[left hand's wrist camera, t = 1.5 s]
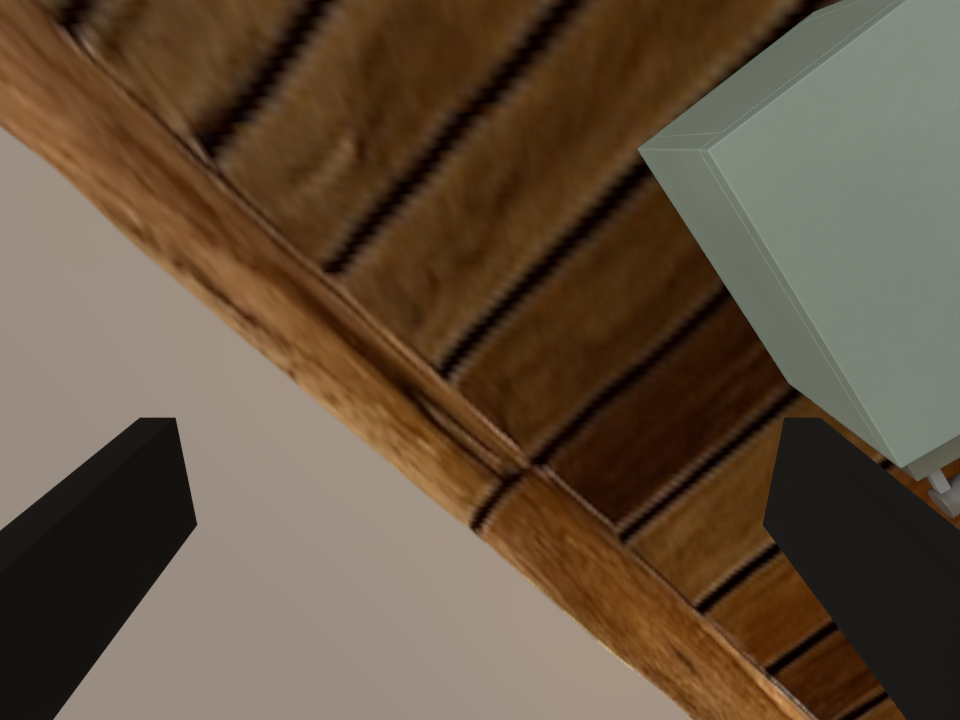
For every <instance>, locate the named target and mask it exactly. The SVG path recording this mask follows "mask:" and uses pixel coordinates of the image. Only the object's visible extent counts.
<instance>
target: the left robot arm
mask: <svg viewBox="0 0 960 720" xmlns="http://www.w3.org/2000/svg"><path fill="white" fill-rule="evenodd" d="M196 526H197V521H196V516H195V511H194V507H193V502H192V497H191V492H190V487H189V482H188V477H187V472H186V467H185V462H184V457H183V452H182V447H181V442H180V437H179V433H178V428H177V423H176V418H139V419H138V420H136V421H135V422H134V423H133V424H132V425H130V426H129V427H128V428H127V429H125V430H124V431H123V432H122V433H120V434H119V435H118V436H117V437H116V438H114V439H113V440H112V441H111V442H109V443H108V444H107V445H106V446H104V447H103V448H102V449H101V450H99V451H98V452H97V453H96V454H94V455H93V456H92V457H91V458H89V459H88V460H87V461H86V462H85V463H83V464H82V465H81V466H80V467H78V468H77V469H76V470H75V471H73V472H72V473H71V474H70V475H69V476H67V477H66V478H65V479H64V480H62V481H61V482H60V483H59V484H57V485H56V486H55V487H54V488H52V489H51V490H50V491H49V492H47V493H46V494H45V495H44V496H43V497H41V498H40V499H39V500H38V501H36V502H35V503H34V504H33V505H31V506H30V507H29V508H28V509H27V510H25V511H24V512H23V513H22V514H20V515H19V516H18V517H17V518H15V519H14V520H13V521H12V522H10V523H9V524H8V525H7V526H6V527H4V528H3V529H2V530H1V531H0V720H53V719H54V718H55V716H56V715H57V714H58V712H59V711H60V710H61V708H62V707H63V706H64V704H65V703H66V702H67V700H68V699H69V698H70V696H71V695H72V693H73V692H74V691H75V689H76V688H77V687H78V685H79V684H80V683H81V681H82V680H83V679H84V677H85V676H86V675H87V673H88V672H89V670H90V669H91V668H92V666H93V665H94V664H95V662H96V661H97V660H98V658H99V657H100V656H101V654H102V653H103V652H104V650H105V649H106V648H107V646H108V645H109V643H110V642H111V641H112V639H113V638H114V637H115V635H116V634H117V633H118V631H119V630H120V629H121V627H122V626H123V625H124V623H125V622H126V620H127V619H128V618H129V616H130V615H131V614H132V612H133V611H134V610H135V608H136V607H137V606H138V604H139V603H140V602H141V600H142V599H143V597H144V596H145V595H146V593H147V592H148V591H149V589H150V588H151V587H152V585H153V584H154V583H155V581H156V580H157V579H158V577H159V576H160V575H161V573H162V572H163V570H164V569H165V568H166V566H167V565H168V564H169V562H170V561H171V560H172V558H173V557H174V556H175V554H176V553H177V552H178V550H179V549H180V547H181V546H182V545H183V543H184V542H185V541H186V539H187V538H188V537H189V535H190V534H191V533H192V531H193V530H194V529H195V527H196ZM763 526H764V527H765V529H766V530H767V531H768V533H769V534H770V535H771V537H772V538H773V539H774V541H775V542H776V543H777V545H778V546H779V547H780V549H781V550H782V552H783V553H784V554H785V556H786V557H787V558H788V560H789V561H790V562H791V564H792V565H793V566H794V568H795V569H796V570H797V572H798V573H799V575H800V576H801V577H802V579H803V580H804V581H805V583H806V584H807V585H808V587H809V588H810V589H811V591H812V592H813V593H814V595H815V596H816V597H817V599H818V600H819V602H820V603H821V604H822V606H823V607H824V608H825V610H826V611H827V612H828V614H829V615H830V616H831V618H832V619H833V620H834V622H835V623H836V625H837V626H838V627H839V629H840V630H841V631H842V633H843V634H844V635H845V637H846V638H847V639H848V641H849V642H850V643H851V645H852V646H853V648H854V649H855V650H856V652H857V653H858V654H859V656H860V657H861V658H862V660H863V661H864V662H865V664H866V665H867V666H868V668H869V669H870V670H871V672H872V673H873V675H874V676H875V677H876V679H877V680H878V681H879V683H880V684H881V685H882V687H883V688H884V689H885V691H886V692H887V693H888V695H889V696H890V698H891V699H892V700H893V702H894V703H895V704H896V706H897V707H898V708H899V710H900V711H901V712H902V714H903V715H904V716H905V718H906V719H907V720H960V531H959V530H958V529H957V528H956V527H955V526H953V525H952V524H951V523H950V522H948V521H947V520H946V519H945V518H943V517H942V516H941V515H940V514H938V513H937V512H936V511H935V510H934V509H932V508H931V507H930V506H929V505H927V504H926V503H925V502H924V501H922V500H921V499H920V498H919V497H917V496H916V495H915V494H914V493H913V492H911V491H910V490H909V489H908V488H906V487H905V486H904V485H903V484H901V483H900V482H899V481H898V480H896V479H895V478H894V477H893V476H892V475H890V474H889V473H888V472H887V471H885V470H884V469H883V468H882V467H880V466H879V465H878V464H877V463H875V462H874V461H873V460H872V459H871V458H869V457H868V456H867V455H866V454H864V453H863V452H862V451H861V450H859V449H858V448H857V447H856V446H854V445H853V444H852V443H851V442H849V441H848V440H847V439H846V438H845V437H843V436H842V435H841V434H840V433H838V432H837V431H836V430H835V429H833V428H832V427H831V426H830V425H828V424H827V423H826V422H825V421H824V420H822V419H821V418H784V423H783V428H782V433H781V437H780V442H779V447H778V452H777V457H776V462H775V467H774V472H773V477H772V482H771V487H770V492H769V497H768V502H767V507H766V511H765V516H764V521H763Z"/></svg>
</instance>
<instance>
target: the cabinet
mask: <svg viewBox="0 0 960 720" xmlns="http://www.w3.org/2000/svg"><path fill="white" fill-rule="evenodd" d="M638 151H639V152H640V154H641V156H642V157H643V159H644V160H645V162H646V163H647V165H648V166H649V168H650V170H651V171H652V173H653V174H654V176H655V177H656V179H657V180H658V182H659V183H660V185H661V187H662V188H663V190H664V191H665V193H666V194H667V196H668V197H669V199H670V200H671V202H672V204H673V205H674V207H675V208H676V210H677V211H678V213H679V214H680V216H681V217H682V219H683V221H684V222H685V224H686V225H687V227H688V228H689V230H690V231H691V233H692V234H693V236H694V238H695V239H696V241H697V242H698V244H699V245H700V247H701V248H702V250H703V251H704V253H705V255H706V256H707V258H708V259H709V261H710V262H711V264H712V265H713V267H714V268H715V270H716V272H717V273H718V275H719V276H720V278H721V279H722V281H723V282H724V284H725V285H726V287H727V289H728V290H729V292H730V293H731V295H732V296H733V298H734V299H735V301H736V303H737V304H738V306H739V307H740V309H741V310H742V312H743V313H744V315H745V316H746V318H747V320H748V321H749V323H750V324H751V326H752V327H753V329H754V330H755V332H756V333H757V335H758V337H759V338H760V340H761V341H762V343H763V344H764V346H765V347H766V349H767V350H768V352H769V354H770V355H771V357H772V358H773V360H774V361H775V363H776V364H777V366H778V367H779V369H780V371H781V372H782V374H783V375H784V377H785V378H786V380H787V381H788V383H789V384H790V385H792V386H793V387H794V388H796V389H797V390H798V391H800V392H801V393H802V394H804V395H805V396H806V397H808V398H809V399H810V400H812V401H813V402H814V403H816V404H817V405H818V406H820V407H821V408H822V409H824V410H825V411H826V412H827V413H829V414H830V415H831V416H833V417H834V418H835V419H837V420H838V421H839V422H841V423H842V424H843V425H845V426H846V427H847V428H849V429H850V430H851V431H853V432H854V433H855V434H856V435H858V436H859V437H860V438H862V439H863V440H864V441H866V442H867V443H868V444H870V445H871V446H872V447H874V448H875V449H876V450H878V451H879V452H880V453H882V454H883V455H884V456H886V457H887V458H888V459H889V460H891V461H892V462H893V463H895V464H896V465H897V466H899V467H900V468H903V467H904V466H906V465H908V464H910V463H911V462H913V461H915V460H917V459H918V458H920V457H922V456H923V455H925V454H927V453H929V452H930V451H932V450H934V449H936V448H937V447H939V446H941V445H943V444H944V443H946V442H948V441H950V440H951V439H953V438H955V437H956V436H958V435H960V0H843V1H840V2H838V3H835V4H833V5H830V6H828V7H825V8H823V9H820V10H818V11H815V12H813V13H812V14H811V15H809V16H808V17H807V18H805V19H804V20H803V21H802V22H800V23H799V24H798V25H796V26H795V27H794V28H793V29H791V30H790V31H789V32H787V33H786V34H785V35H783V36H782V37H781V38H780V39H778V40H777V41H776V42H774V43H773V44H772V45H771V46H769V47H768V48H767V49H765V50H764V51H763V52H762V53H760V54H759V55H758V56H756V57H755V58H754V59H753V60H751V61H750V62H749V63H747V64H746V65H745V66H744V67H742V68H741V69H740V70H738V71H737V72H736V73H735V74H733V75H732V76H731V77H729V78H728V79H727V80H725V81H724V82H723V83H722V84H720V85H719V86H718V87H716V88H715V89H714V90H713V91H711V92H710V93H709V94H707V95H706V96H705V97H704V98H702V99H701V100H700V101H698V102H697V103H696V104H695V105H693V106H692V107H691V108H689V109H688V110H687V111H686V112H684V113H683V114H682V115H680V116H679V117H678V118H677V119H675V120H674V121H673V122H671V123H670V124H669V125H668V126H666V127H665V128H664V129H662V130H661V131H660V132H658V133H657V134H656V135H655V136H653V137H652V138H651V139H649V140H648V141H647V142H646V143H644V144H643V145H642V146H640V147H639V148H638Z"/></svg>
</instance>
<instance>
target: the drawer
mask: <svg viewBox="0 0 960 720" xmlns="http://www.w3.org/2000/svg"><path fill="white" fill-rule="evenodd" d="M823 410H824V409H823ZM824 411H825V410H824ZM825 412H826V411H825ZM828 414H829V413H828ZM829 415H830V414H829ZM832 417H833V416H832ZM833 418H834V417H833ZM836 420H837V419H836ZM837 421H838V420H837ZM840 423H841V422H840ZM841 424H842V423H841ZM844 426H845V425H844ZM845 427H846V426H845ZM846 428H847V427H846ZM848 429H849V428H848ZM849 430H850V429H849ZM850 431H851V430H850ZM852 432H853V431H852ZM853 433H854V432H853ZM854 434H855V433H854ZM857 436H858V435H857ZM858 437H859V436H858ZM861 439H862V438H861ZM862 440H863V439H862ZM865 442H866V441H865ZM866 443H867V442H866ZM869 445H870V444H869ZM870 446H871V445H870ZM871 447H872V446H871ZM873 448H874V447H873ZM874 449H875V448H874ZM875 450H876V449H875ZM877 451H878V450H877ZM878 452H879V451H878ZM879 453H880V452H879ZM881 454H882V453H881ZM882 455H883V454H882ZM883 456H884V455H883ZM885 457H886V456H885ZM886 458H887V457H886ZM958 458H960V435H958V436H956V437H955V438H953V439H951V440H950V441H948V442H946V443H944V444H943V445H941V446H939V447H937V448H936V449H934V450H932V451H930V452H929V453H927V454H925V455H923V456H922V457H920V458H918V459H917V460H915V461H913V462H911V463H910V464H908V465H906V466H904V467H903V468H900V467H899V466H898V467H899V468H900V469H902V470H903V471H904V472H906V473H907V474H908V475H910V476H911V477H912V478H914V479H915V480H916V481H919V480H921V479H923V478H925V477H927V478H928V480H929V482H930V483H931V485H932V487H933V488H931V489H929V490H928V494H929V496H930V498H931V499H932V500H933V502H934V503H935V504H936V505H937V506H938V507H939V508H940V509H941V510H942V511H943V512H944V513H945V514H947V515H948V516H950V517H952V518H954V517H956V516H958V515H959V514H960V472H959V473H958V474H956V475H954V476H952V477H951V478H949V479H947V480H946V478H945V476H944V475H943V473H942V471H941V469H940V468H942V467H944V466H946V465H947V464H949V463H951V462H953V461H954V460H956V459H958ZM887 459H888V458H887ZM890 461H891V460H890ZM891 462H892V461H891ZM894 464H895V463H894ZM895 465H896V464H895ZM896 466H897V465H896Z"/></svg>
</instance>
